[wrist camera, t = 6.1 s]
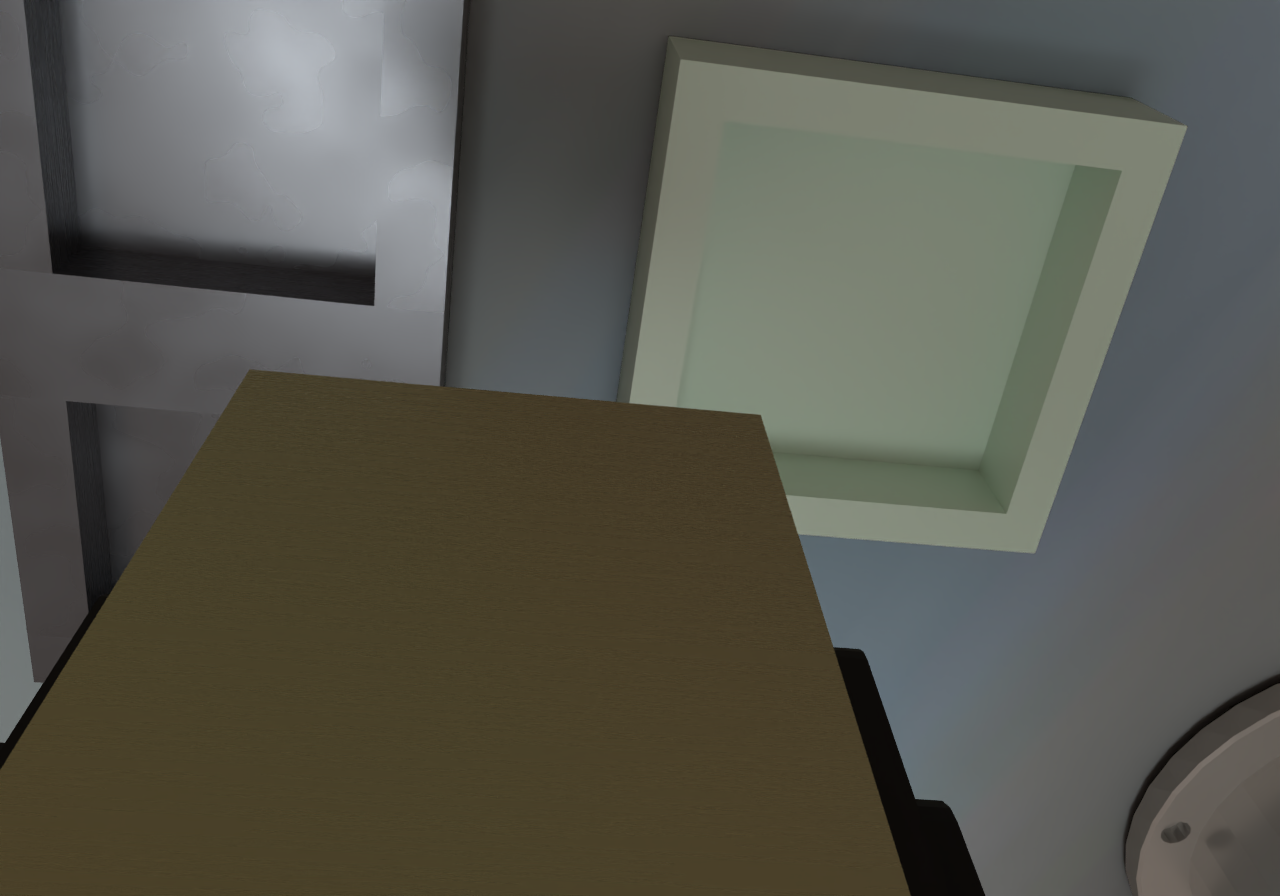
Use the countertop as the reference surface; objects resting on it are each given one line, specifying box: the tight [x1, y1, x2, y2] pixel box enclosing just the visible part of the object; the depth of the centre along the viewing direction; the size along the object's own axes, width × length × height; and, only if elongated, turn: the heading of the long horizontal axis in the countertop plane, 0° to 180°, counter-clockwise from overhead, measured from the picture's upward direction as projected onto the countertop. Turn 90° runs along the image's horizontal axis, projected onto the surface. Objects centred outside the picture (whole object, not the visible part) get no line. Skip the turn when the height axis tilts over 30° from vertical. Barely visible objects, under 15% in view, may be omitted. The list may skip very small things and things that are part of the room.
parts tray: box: [616, 36, 1187, 553], centre depth 25 cm, size 10×10×2 cm
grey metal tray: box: [0, 0, 470, 683], centre depth 25 cm, size 9×18×2 cm, turn 172°
